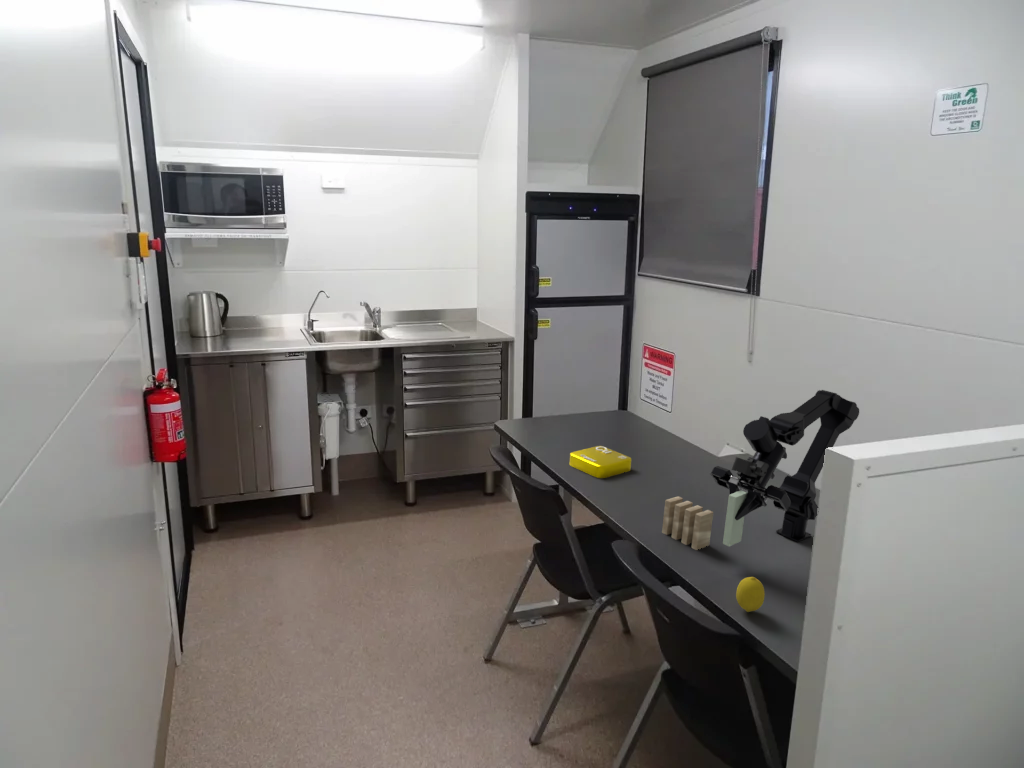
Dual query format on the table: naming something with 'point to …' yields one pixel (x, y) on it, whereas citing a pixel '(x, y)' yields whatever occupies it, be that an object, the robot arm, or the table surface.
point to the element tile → (600, 462)
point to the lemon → (750, 594)
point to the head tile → (732, 525)
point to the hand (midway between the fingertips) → (731, 517)
